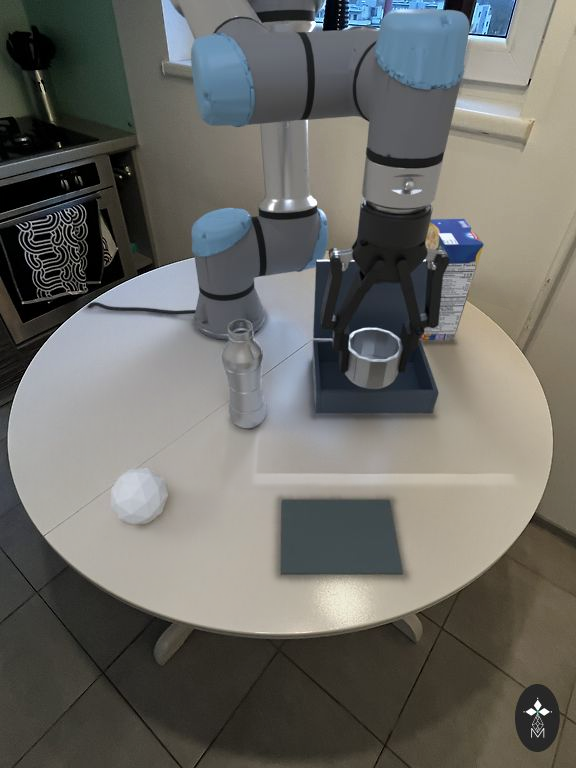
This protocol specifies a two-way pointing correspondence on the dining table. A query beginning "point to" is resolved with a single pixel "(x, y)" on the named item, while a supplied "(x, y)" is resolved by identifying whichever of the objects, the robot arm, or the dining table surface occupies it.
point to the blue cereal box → (453, 272)
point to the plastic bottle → (244, 375)
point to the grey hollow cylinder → (373, 357)
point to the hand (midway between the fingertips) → (370, 366)
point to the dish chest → (343, 396)
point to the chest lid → (369, 300)
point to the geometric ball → (138, 496)
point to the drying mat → (338, 537)
